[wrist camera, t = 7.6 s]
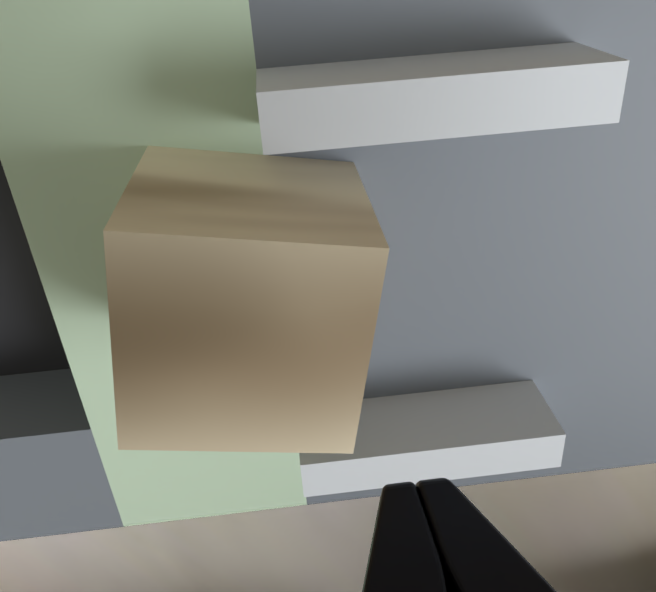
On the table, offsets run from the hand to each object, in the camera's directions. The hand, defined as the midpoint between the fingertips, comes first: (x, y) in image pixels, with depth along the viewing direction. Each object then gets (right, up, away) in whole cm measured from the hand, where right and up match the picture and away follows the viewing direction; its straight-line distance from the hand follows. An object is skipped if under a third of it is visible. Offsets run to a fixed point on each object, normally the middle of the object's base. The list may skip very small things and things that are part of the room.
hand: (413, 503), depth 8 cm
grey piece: (0, +5, +8) cm, 10 cm away
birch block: (-3, +4, +5) cm, 7 cm away
